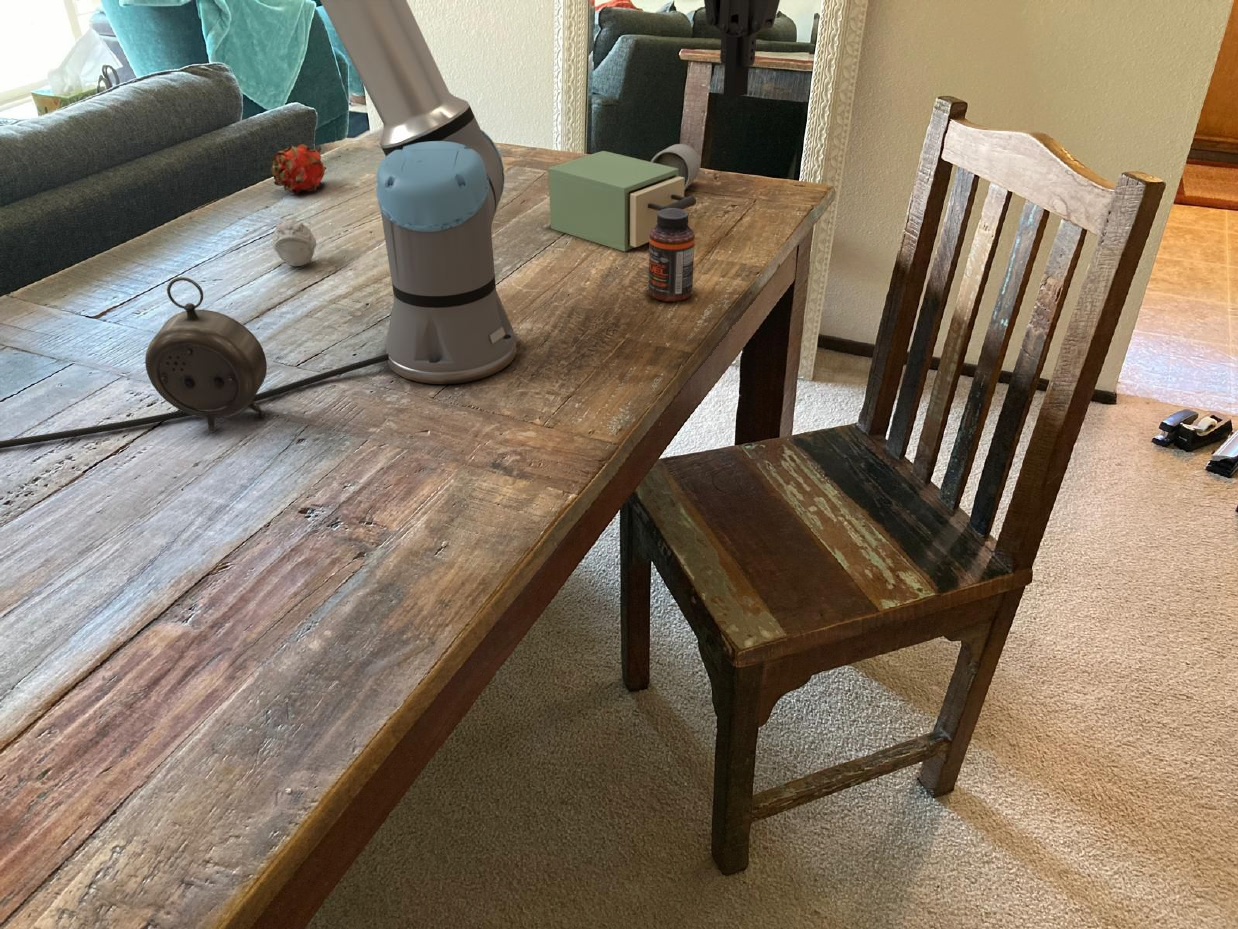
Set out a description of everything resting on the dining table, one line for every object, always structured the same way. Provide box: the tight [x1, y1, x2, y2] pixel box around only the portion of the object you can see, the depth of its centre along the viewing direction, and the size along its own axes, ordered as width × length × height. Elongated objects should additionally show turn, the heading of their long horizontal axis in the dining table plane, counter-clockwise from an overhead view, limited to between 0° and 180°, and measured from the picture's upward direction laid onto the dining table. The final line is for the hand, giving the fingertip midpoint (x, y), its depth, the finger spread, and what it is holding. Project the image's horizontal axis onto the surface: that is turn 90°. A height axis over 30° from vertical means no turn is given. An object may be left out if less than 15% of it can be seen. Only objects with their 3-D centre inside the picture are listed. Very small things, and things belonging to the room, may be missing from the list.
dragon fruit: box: [269, 143, 327, 195], centre depth 163 cm, size 8×8×12 cm
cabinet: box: [547, 150, 679, 252], centre depth 144 cm, size 16×13×10 cm
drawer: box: [628, 176, 697, 248], centre depth 142 cm, size 19×11×8 cm, turn 49°
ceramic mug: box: [650, 143, 701, 191], centre depth 162 cm, size 11×8×8 cm
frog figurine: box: [271, 218, 317, 267], centre depth 133 cm, size 6×7×7 cm
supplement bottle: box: [648, 208, 696, 303], centre depth 122 cm, size 6×6×11 cm
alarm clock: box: [144, 276, 268, 433], centre depth 94 cm, size 11×5×16 cm, turn 90°
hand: (735, 94), depth 108 cm, fingers closed
